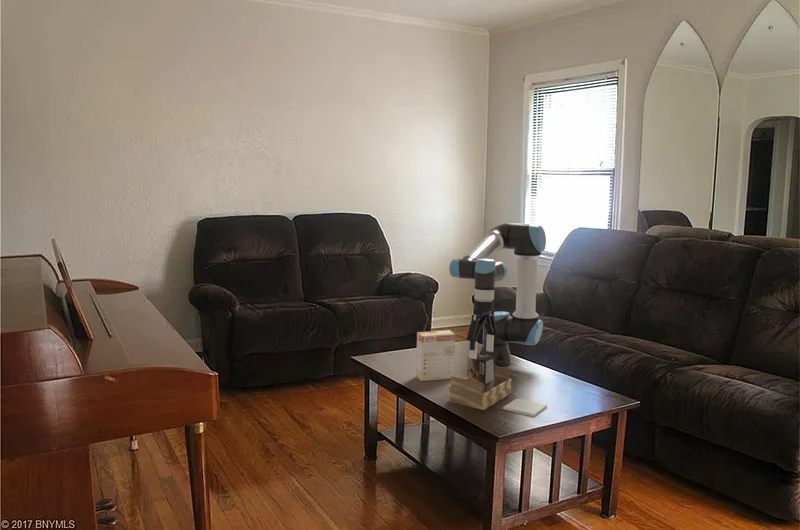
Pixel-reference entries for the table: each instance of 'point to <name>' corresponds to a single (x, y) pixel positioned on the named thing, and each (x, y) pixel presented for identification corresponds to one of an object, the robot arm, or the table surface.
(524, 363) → the table surface
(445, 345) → the coffeecake box
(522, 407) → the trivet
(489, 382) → the coffee box
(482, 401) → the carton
